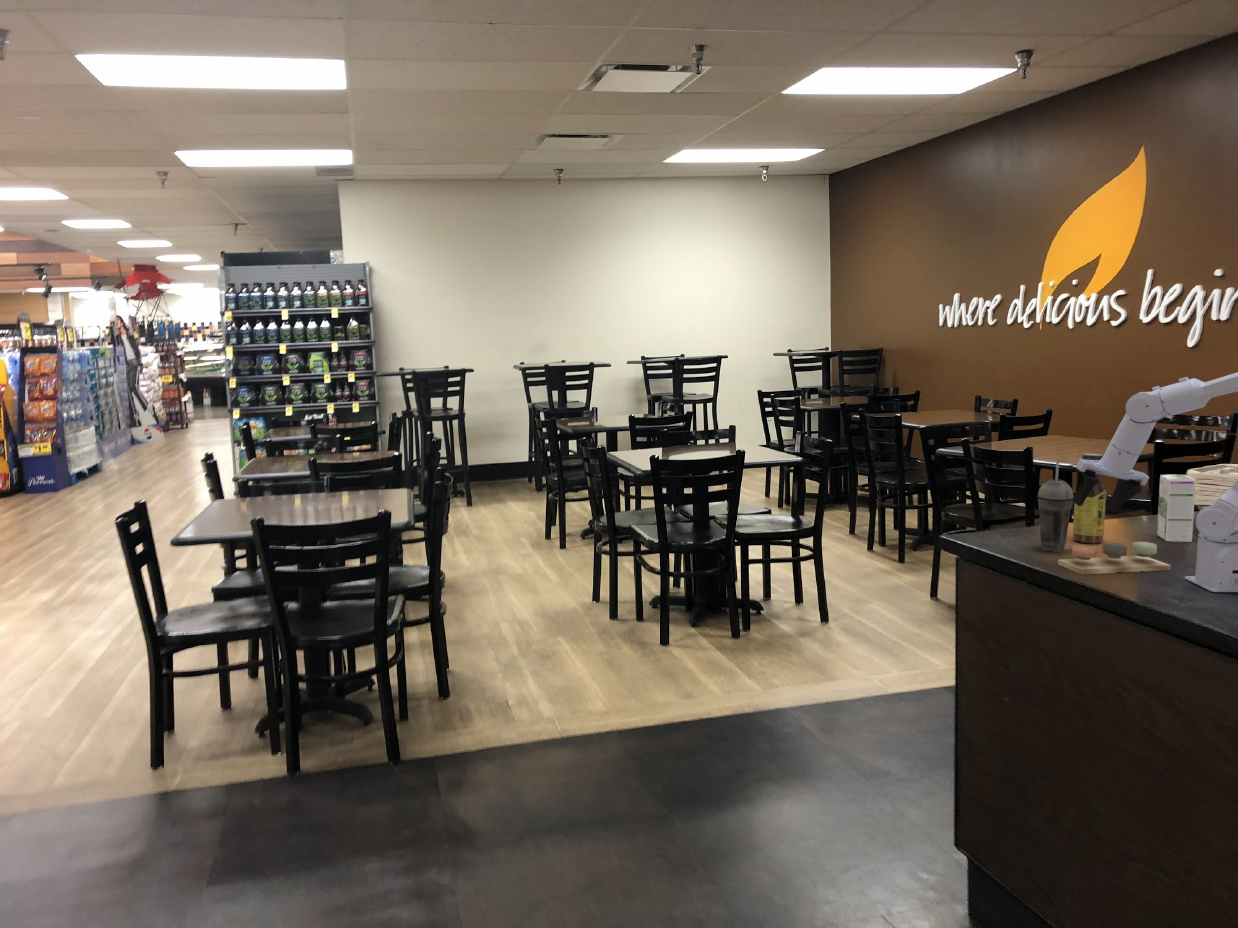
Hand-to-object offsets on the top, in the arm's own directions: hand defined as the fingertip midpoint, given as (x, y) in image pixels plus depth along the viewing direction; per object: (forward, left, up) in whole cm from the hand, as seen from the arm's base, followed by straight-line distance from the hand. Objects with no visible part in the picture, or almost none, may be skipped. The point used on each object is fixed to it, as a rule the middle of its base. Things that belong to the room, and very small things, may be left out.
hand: (1093, 507), depth 190 cm
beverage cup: (+12, +3, -12) cm, 17 cm away
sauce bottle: (+20, -8, -12) cm, 24 cm away
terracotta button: (-4, +3, -10) cm, 11 cm away
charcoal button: (-3, -3, -10) cm, 11 cm away
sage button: (-2, -10, -10) cm, 14 cm away
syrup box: (+22, -28, -12) cm, 37 cm away
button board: (-3, -3, -12) cm, 13 cm away
